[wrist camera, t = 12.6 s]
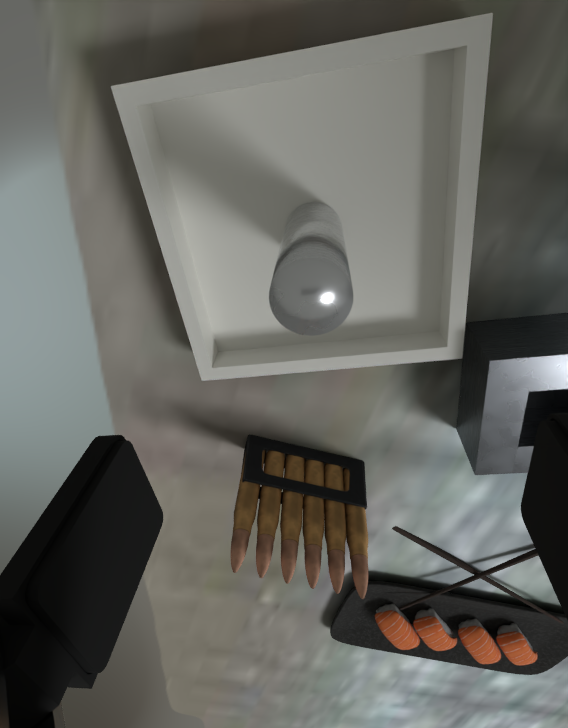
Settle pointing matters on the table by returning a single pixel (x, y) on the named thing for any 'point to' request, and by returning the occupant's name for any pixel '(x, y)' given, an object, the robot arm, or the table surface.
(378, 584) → the sushi plate
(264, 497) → the ammunition clip
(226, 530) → the table surface
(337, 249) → the pin
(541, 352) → the pin block
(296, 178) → the tray
